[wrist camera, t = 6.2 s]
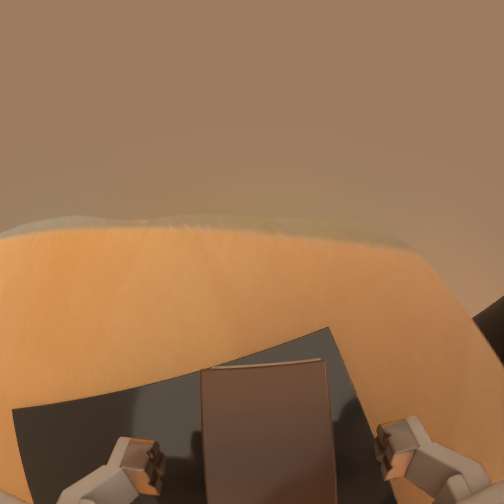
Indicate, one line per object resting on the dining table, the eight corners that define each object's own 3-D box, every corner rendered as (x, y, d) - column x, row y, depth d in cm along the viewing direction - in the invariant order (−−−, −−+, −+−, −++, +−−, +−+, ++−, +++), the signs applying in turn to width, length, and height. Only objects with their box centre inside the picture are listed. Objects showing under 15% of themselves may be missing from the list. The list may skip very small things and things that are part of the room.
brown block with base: (220, 373, 16) (175, 336, 9) (314, 365, 16) (345, 322, 9) (228, 511, 12) (190, 576, 5) (325, 505, 12) (363, 566, 5)
